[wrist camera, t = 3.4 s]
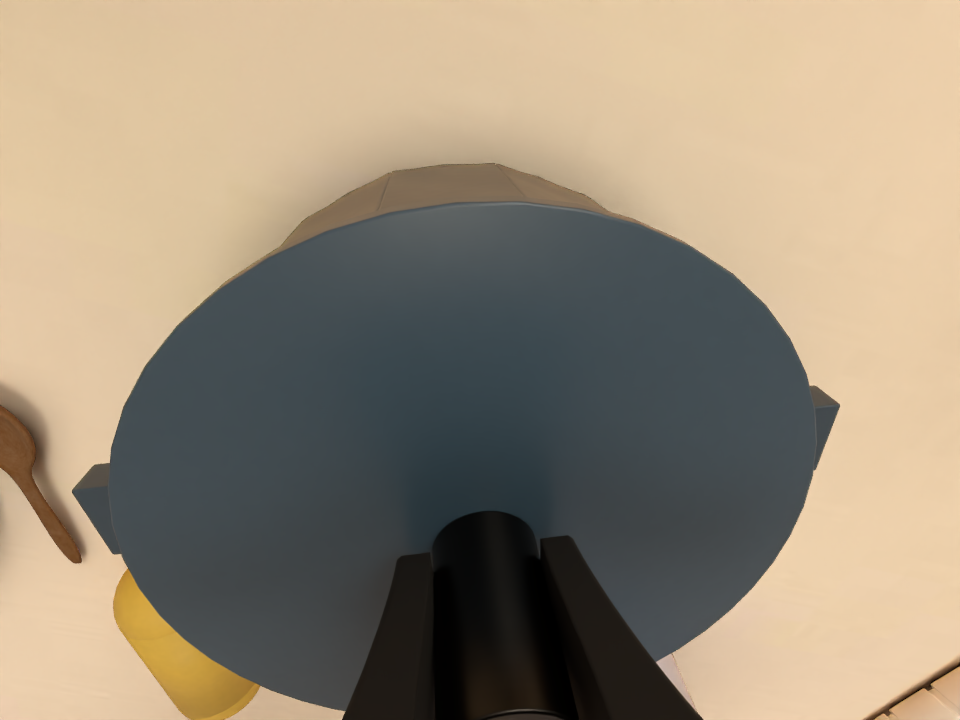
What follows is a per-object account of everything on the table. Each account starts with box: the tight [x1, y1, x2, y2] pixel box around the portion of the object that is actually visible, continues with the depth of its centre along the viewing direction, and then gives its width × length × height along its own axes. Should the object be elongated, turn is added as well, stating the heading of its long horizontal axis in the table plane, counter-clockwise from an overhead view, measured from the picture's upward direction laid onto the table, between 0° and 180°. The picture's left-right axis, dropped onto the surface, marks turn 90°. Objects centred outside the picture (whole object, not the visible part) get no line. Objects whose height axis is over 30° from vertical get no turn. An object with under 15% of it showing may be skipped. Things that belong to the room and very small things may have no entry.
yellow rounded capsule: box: [113, 569, 260, 720], centre depth 20 cm, size 9×4×4 cm, turn 3°
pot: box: [72, 163, 840, 554], centre depth 15 cm, size 15×20×6 cm
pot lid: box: [108, 196, 817, 720], centre depth 10 cm, size 16×16×5 cm
